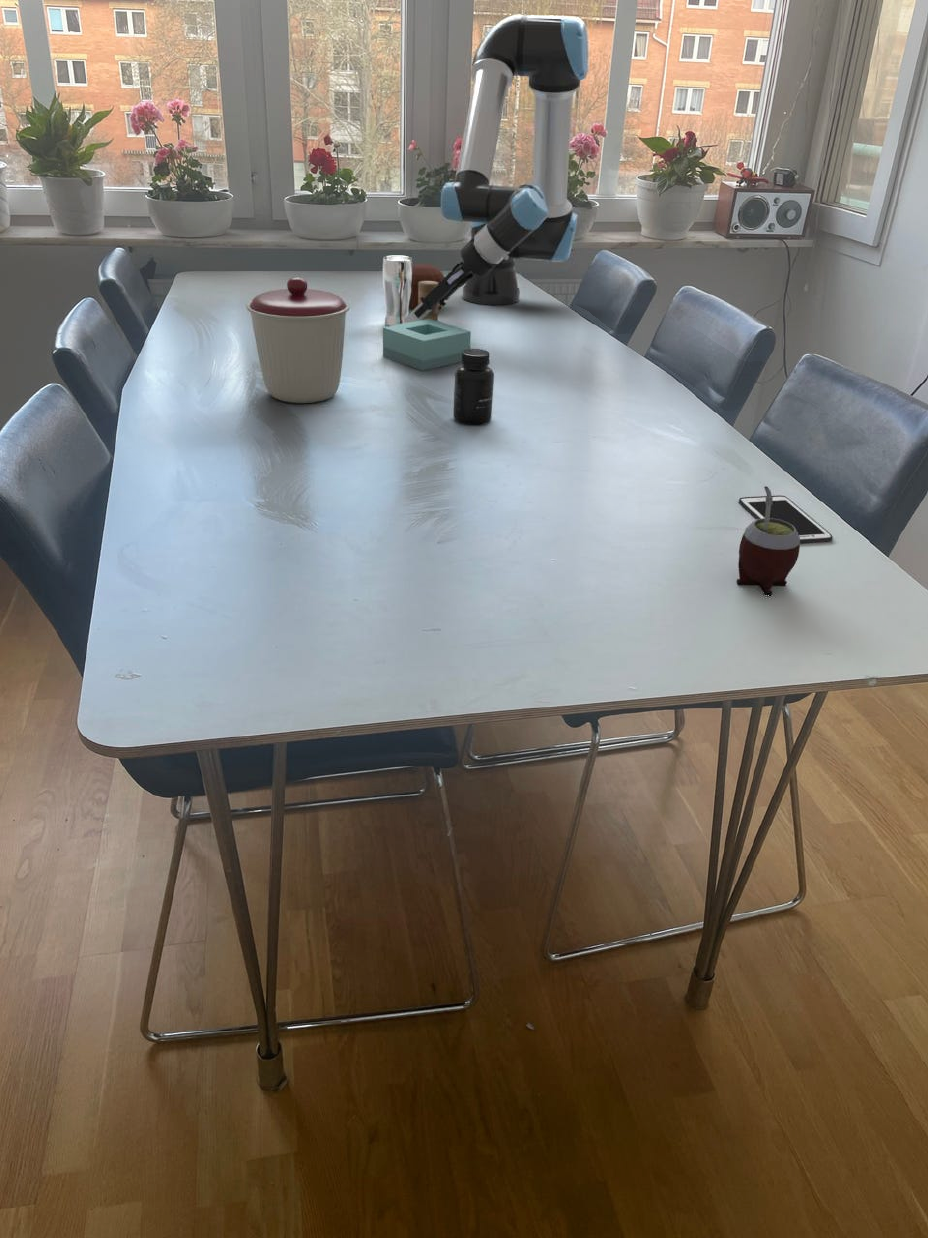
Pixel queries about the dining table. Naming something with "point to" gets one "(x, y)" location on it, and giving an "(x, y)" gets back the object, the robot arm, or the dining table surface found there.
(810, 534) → the cell phone
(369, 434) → the dining table surface
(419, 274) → the muffin
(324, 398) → the canister
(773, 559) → the mate gourd
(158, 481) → the dining table surface
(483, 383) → the supplement bottle
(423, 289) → the dowel pin
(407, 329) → the socket block
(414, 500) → the dining table surface
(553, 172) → the robot arm
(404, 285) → the beer glass
